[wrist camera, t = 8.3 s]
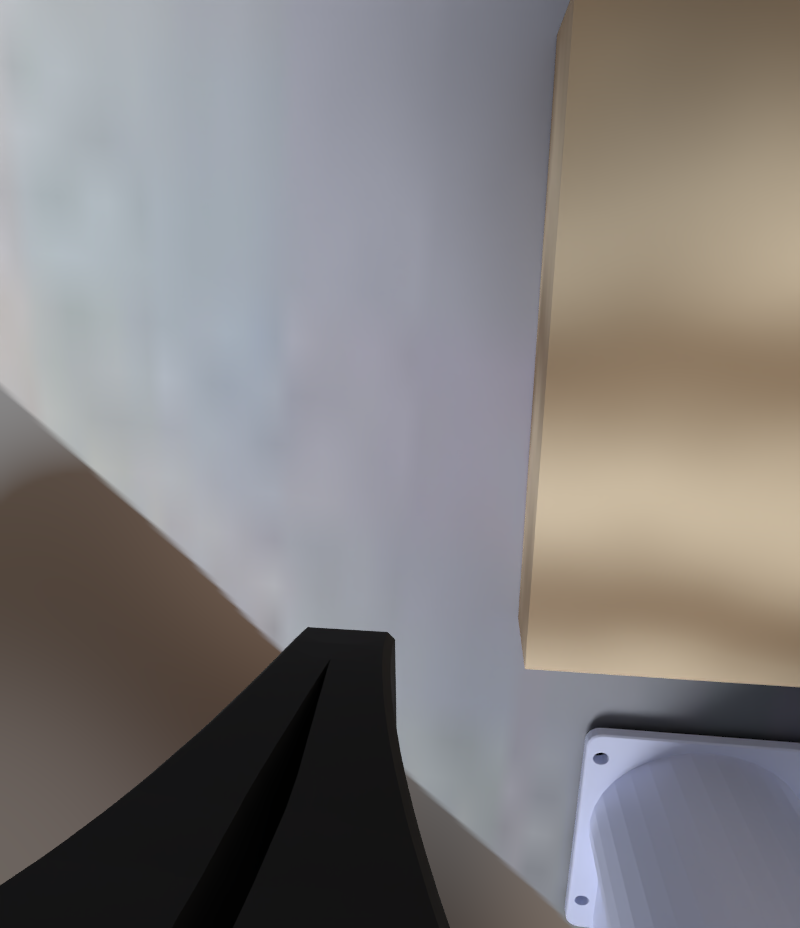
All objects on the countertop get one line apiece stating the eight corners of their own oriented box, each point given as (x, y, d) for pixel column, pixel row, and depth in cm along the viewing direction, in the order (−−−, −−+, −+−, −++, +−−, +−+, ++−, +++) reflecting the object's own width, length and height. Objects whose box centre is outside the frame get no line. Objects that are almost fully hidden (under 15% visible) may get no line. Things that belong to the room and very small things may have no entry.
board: (920, 641, 17) (990, 700, 15) (518, 618, 19) (524, 669, 16) (1140, 3, 12) (1301, -60, 10) (557, 34, 13) (575, -13, 11)
